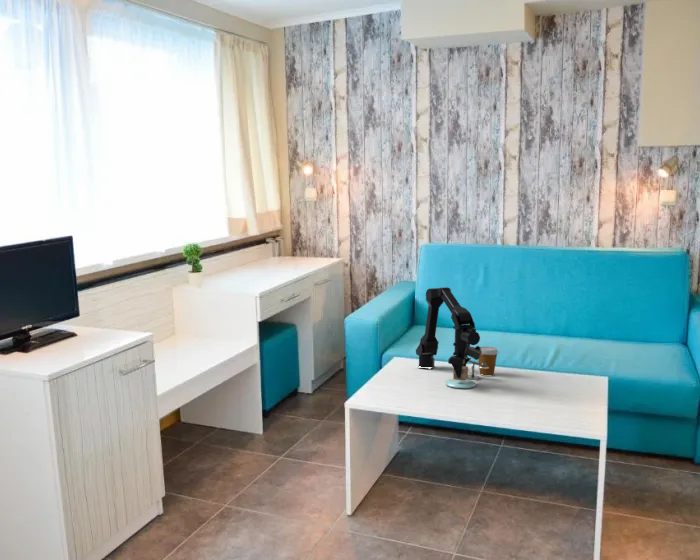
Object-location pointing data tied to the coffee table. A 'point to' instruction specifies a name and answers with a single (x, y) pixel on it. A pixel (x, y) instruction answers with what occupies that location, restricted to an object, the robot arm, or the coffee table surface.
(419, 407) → the coffee table surface
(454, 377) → the tan block
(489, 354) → the disposable coffee cup
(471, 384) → the teal dish
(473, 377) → the balance
